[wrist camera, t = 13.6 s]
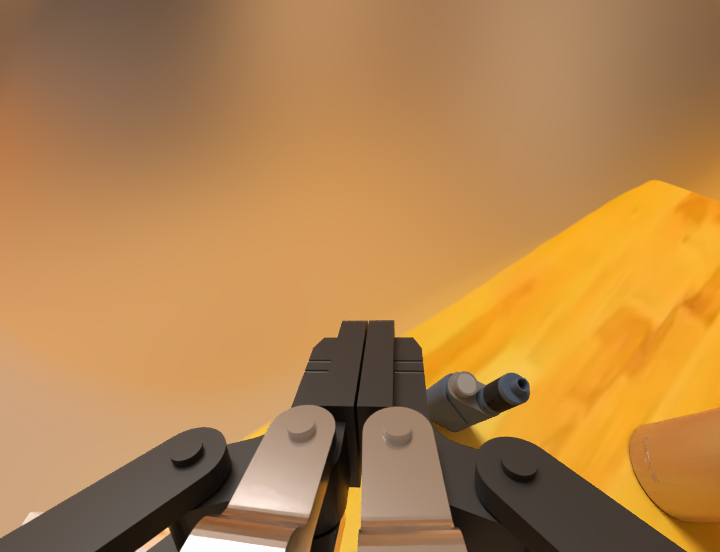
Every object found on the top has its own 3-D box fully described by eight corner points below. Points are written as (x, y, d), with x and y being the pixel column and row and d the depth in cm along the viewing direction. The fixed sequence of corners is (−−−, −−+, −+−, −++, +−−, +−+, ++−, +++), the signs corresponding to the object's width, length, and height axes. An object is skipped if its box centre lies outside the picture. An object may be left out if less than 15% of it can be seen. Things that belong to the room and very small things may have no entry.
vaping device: (460, 437, 36) (536, 408, 26) (412, 412, 36) (470, 374, 27) (466, 413, 38) (540, 377, 28) (420, 388, 38) (477, 344, 28)
